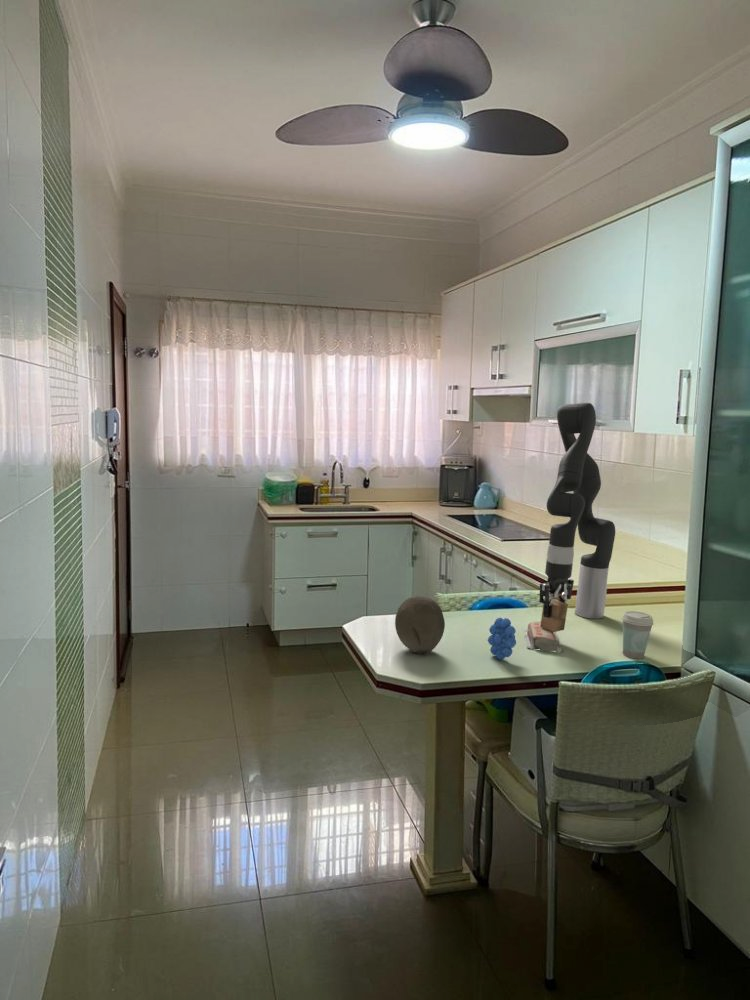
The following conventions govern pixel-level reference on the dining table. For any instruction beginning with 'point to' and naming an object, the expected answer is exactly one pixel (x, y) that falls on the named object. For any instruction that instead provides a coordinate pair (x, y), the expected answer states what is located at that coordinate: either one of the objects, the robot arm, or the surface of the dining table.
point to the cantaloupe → (420, 624)
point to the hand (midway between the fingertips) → (553, 615)
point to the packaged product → (541, 638)
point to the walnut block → (555, 617)
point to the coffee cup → (636, 633)
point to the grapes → (502, 638)
